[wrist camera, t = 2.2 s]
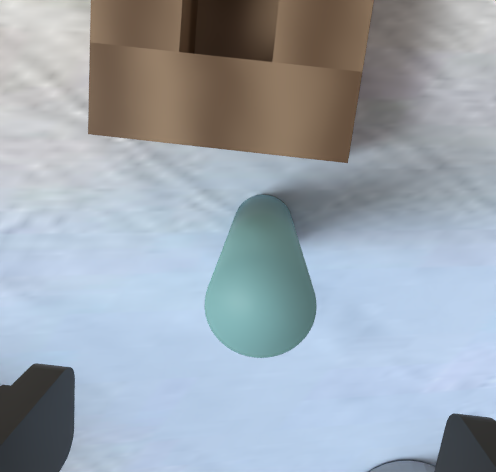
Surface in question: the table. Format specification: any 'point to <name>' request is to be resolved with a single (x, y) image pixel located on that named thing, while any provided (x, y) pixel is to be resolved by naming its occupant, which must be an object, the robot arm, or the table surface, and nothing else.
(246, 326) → the pin
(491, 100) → the table surface
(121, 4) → the bore block
